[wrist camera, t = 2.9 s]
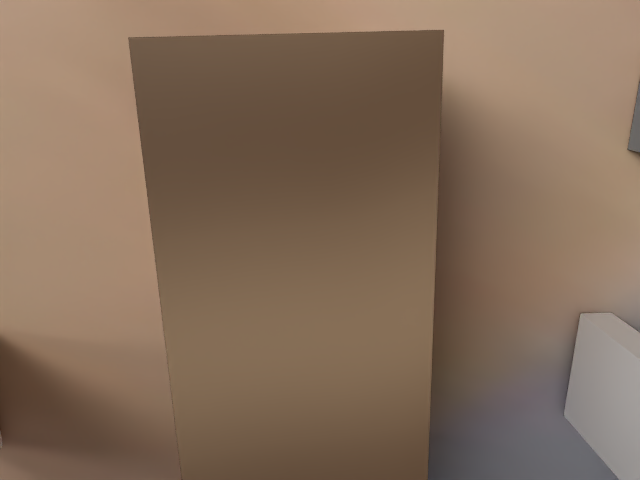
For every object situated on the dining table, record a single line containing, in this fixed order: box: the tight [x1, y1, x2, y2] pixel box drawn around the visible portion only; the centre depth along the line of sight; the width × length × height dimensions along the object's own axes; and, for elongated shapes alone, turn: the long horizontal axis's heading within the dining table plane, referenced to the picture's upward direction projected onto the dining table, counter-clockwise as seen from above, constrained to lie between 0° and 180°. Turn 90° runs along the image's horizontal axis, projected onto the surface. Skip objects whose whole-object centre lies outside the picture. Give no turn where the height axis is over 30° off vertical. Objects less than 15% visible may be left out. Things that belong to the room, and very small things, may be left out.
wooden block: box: [128, 30, 444, 480], centre depth 11 cm, size 14×4×5 cm, turn 2°
